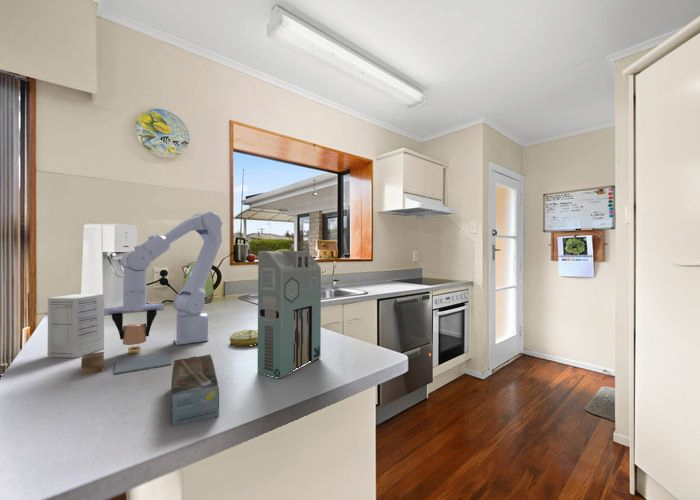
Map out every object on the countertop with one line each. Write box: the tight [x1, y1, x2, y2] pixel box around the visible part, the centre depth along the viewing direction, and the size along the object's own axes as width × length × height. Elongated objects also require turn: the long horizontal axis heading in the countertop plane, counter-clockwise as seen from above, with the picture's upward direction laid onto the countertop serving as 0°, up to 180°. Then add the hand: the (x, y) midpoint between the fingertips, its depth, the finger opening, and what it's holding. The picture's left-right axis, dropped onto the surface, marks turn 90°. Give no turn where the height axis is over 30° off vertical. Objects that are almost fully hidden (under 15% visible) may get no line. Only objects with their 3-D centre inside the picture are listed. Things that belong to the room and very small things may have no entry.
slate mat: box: [113, 351, 172, 376], centre depth 85 cm, size 12×12×1 cm
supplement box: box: [47, 293, 105, 359], centre depth 94 cm, size 10×9×17 cm
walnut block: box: [80, 351, 105, 376], centre depth 79 cm, size 4×4×4 cm
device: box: [257, 250, 322, 379], centre depth 83 cm, size 16×8×30 cm, turn 151°
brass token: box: [127, 345, 141, 355], centre depth 94 cm, size 3×3×2 cm
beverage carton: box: [170, 354, 220, 427], centre depth 64 cm, size 8×19×7 cm, turn 27°
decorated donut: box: [228, 329, 258, 347], centre depth 104 cm, size 10×11×4 cm
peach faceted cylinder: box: [122, 322, 147, 346], centre depth 94 cm, size 6×6×5 cm
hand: (134, 337), depth 94 cm, fingers closed on peach faceted cylinder, 6 cm apart
